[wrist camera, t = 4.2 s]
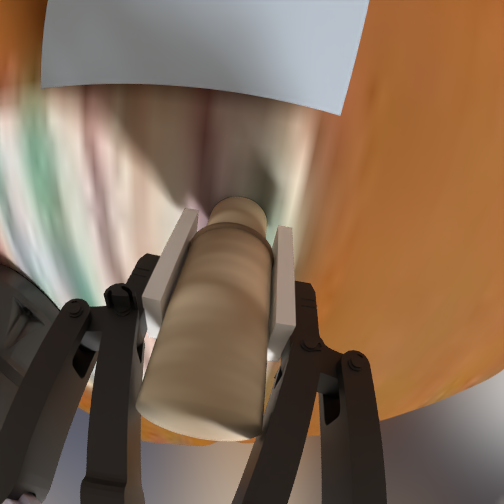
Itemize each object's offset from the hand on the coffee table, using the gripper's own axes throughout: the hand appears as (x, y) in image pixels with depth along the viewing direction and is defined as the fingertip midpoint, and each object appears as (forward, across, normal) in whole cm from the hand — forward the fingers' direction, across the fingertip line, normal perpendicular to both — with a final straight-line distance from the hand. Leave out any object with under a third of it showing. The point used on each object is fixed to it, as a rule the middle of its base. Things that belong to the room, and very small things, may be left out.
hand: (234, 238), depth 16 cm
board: (+2, -4, +17) cm, 18 cm away
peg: (+2, 0, 0) cm, 2 cm away
